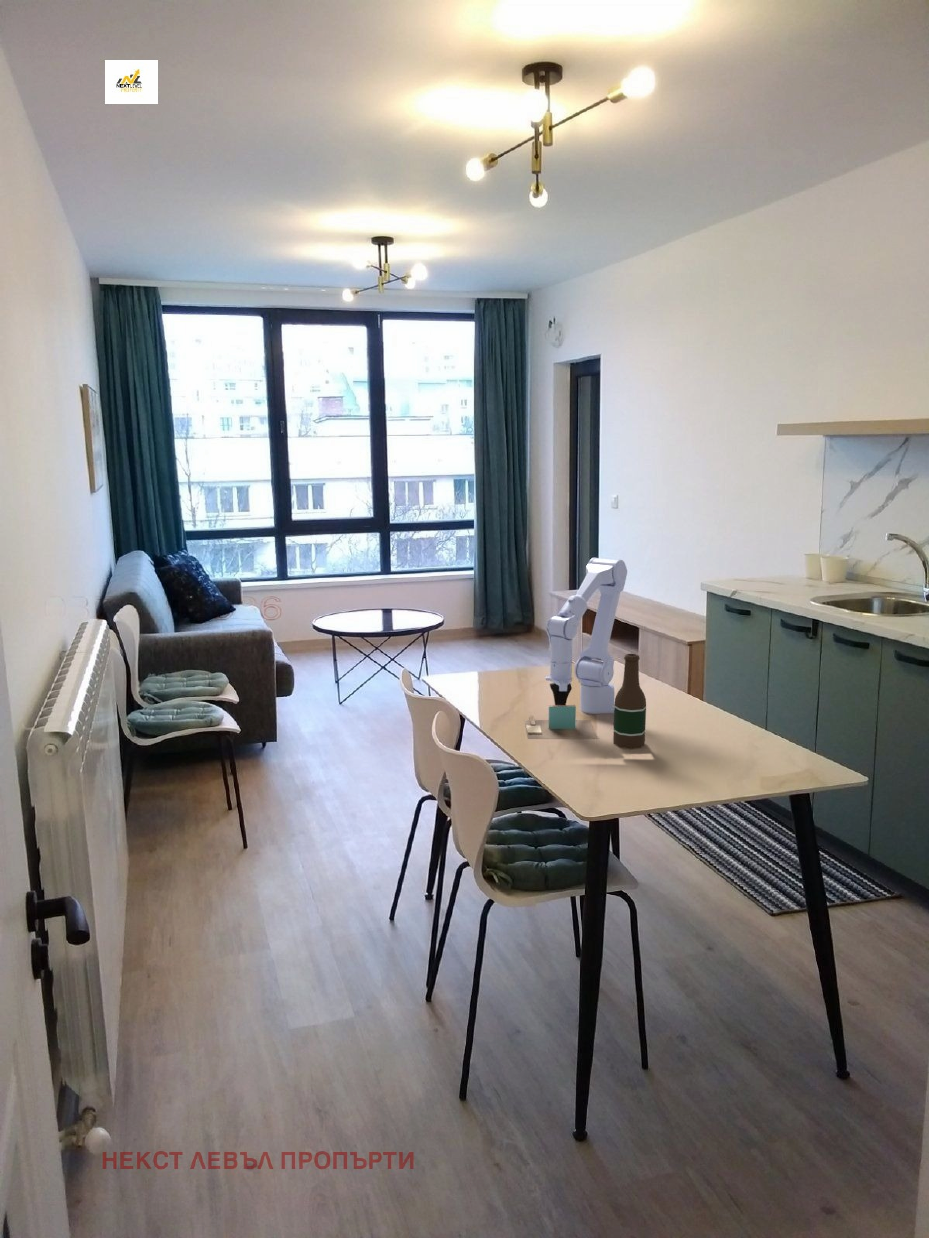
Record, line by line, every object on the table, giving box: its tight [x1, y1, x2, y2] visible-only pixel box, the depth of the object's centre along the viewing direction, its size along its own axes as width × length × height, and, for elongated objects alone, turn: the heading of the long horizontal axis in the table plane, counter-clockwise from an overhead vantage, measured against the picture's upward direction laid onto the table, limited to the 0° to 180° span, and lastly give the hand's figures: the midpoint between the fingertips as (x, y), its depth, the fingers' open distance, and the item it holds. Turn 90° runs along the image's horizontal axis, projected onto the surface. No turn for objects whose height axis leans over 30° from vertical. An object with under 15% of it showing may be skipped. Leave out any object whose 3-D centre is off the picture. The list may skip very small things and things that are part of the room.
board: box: [523, 719, 599, 740], centre depth 235 cm, size 18×16×1 cm
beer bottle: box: [612, 653, 647, 750], centre depth 221 cm, size 8×8×24 cm
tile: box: [547, 704, 577, 729], centre depth 235 cm, size 7×2×6 cm, turn 90°
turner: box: [525, 715, 542, 734], centre depth 237 cm, size 4×14×1 cm, turn 0°
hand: (560, 710), depth 240 cm, fingers closed
